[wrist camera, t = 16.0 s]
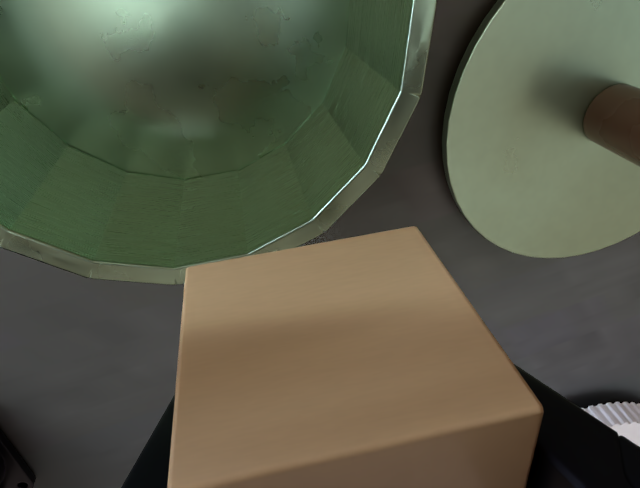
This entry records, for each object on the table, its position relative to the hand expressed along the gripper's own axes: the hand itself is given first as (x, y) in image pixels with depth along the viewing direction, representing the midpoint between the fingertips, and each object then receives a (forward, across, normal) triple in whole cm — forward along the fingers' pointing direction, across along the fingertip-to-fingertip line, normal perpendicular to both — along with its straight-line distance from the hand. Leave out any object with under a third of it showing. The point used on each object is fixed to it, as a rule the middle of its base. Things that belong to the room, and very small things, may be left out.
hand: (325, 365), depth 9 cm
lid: (+11, -14, 0) cm, 17 cm away
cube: (+1, 0, 0) cm, 1 cm away
